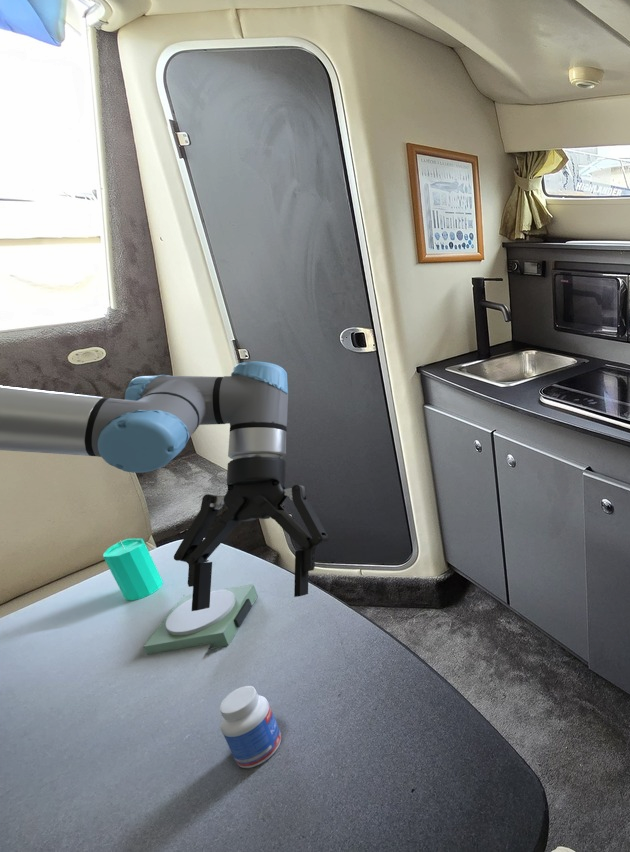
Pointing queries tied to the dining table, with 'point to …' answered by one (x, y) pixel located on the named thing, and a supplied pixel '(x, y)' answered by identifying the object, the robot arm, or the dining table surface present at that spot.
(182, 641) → the kitchen scale
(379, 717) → the dining table surface
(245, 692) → the pill bottle
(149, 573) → the candle
